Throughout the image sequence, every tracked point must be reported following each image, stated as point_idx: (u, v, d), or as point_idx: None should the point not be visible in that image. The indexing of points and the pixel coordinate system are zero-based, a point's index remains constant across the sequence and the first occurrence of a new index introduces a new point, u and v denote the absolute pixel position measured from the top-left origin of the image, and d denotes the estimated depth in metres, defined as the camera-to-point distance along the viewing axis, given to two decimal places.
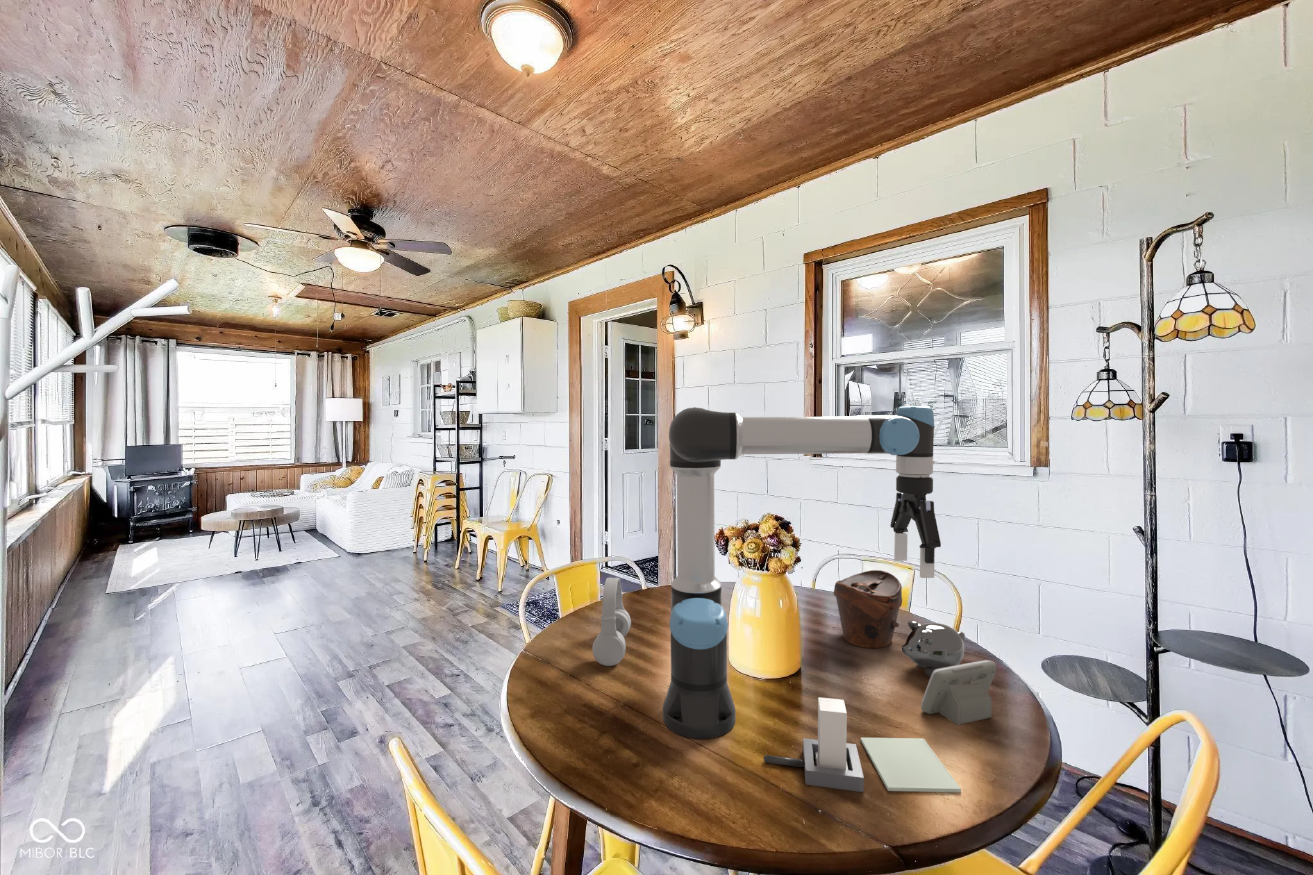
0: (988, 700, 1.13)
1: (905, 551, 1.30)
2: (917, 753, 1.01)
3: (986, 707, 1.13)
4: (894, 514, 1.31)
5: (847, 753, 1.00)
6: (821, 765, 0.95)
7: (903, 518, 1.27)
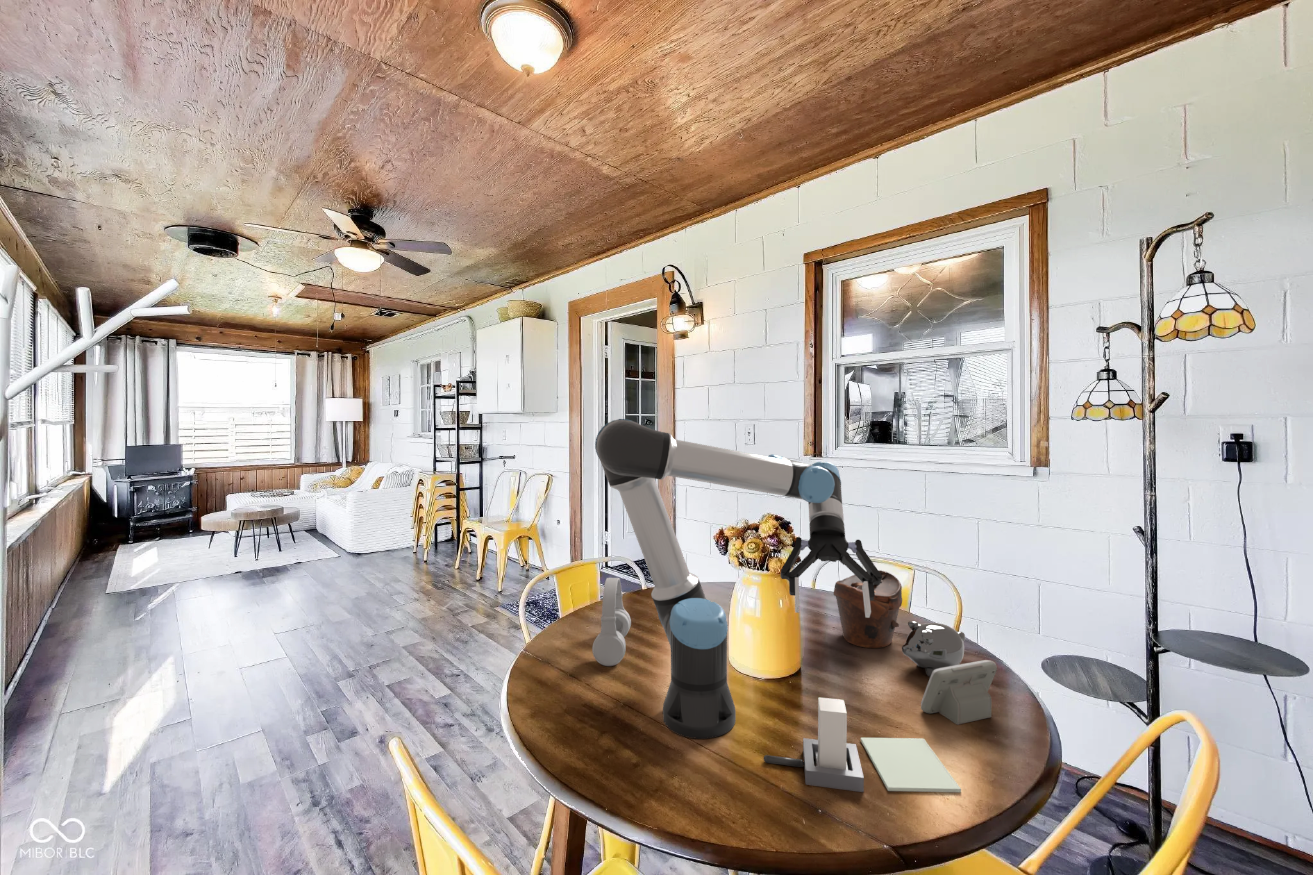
0: (988, 700, 1.13)
1: None
2: (917, 753, 1.01)
3: (986, 707, 1.13)
4: (791, 559, 1.17)
5: (847, 753, 1.00)
6: (821, 765, 0.95)
7: (810, 561, 1.17)
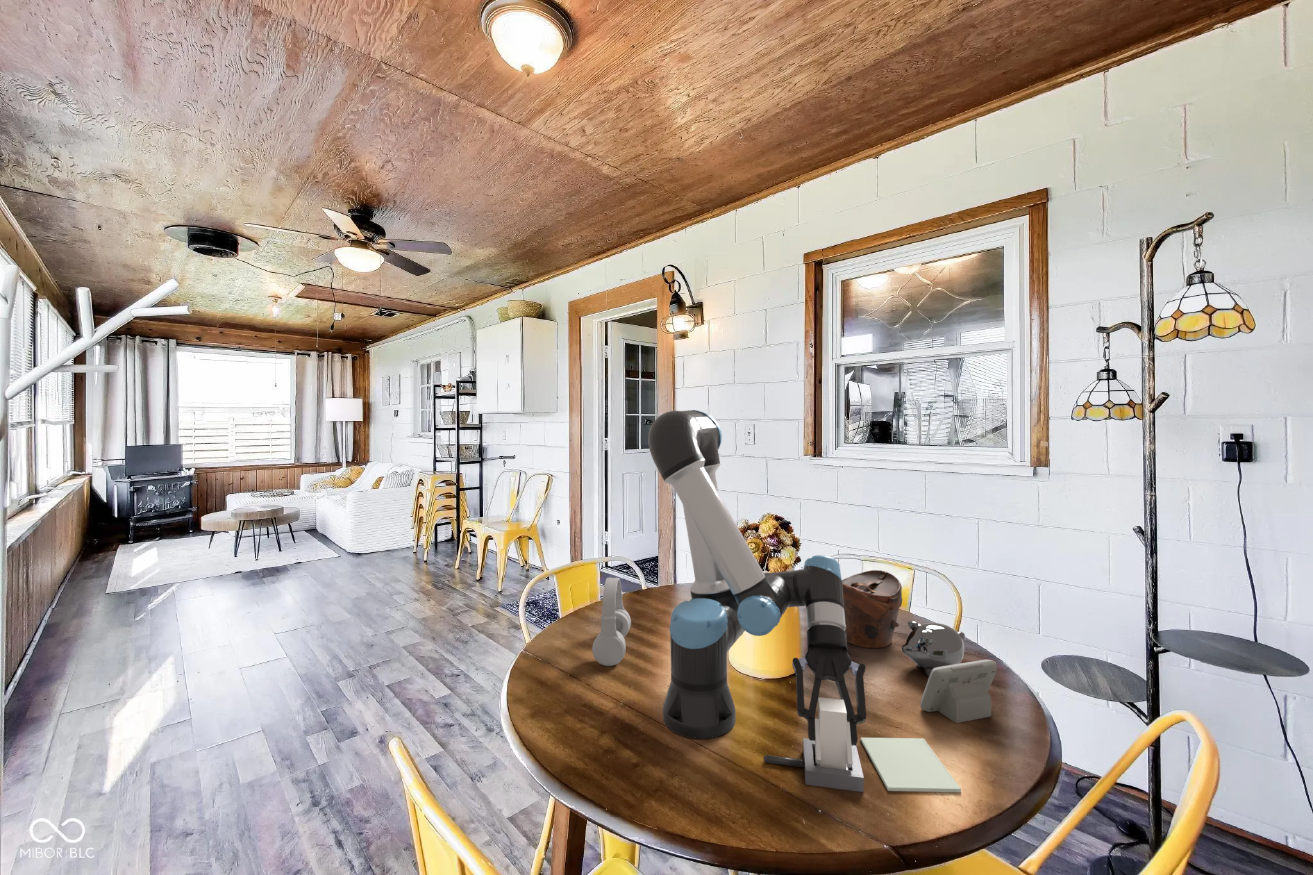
0: (988, 699, 1.13)
1: None
2: (917, 753, 1.01)
3: (986, 706, 1.13)
4: (801, 689, 1.01)
5: None
6: (821, 765, 0.95)
7: None
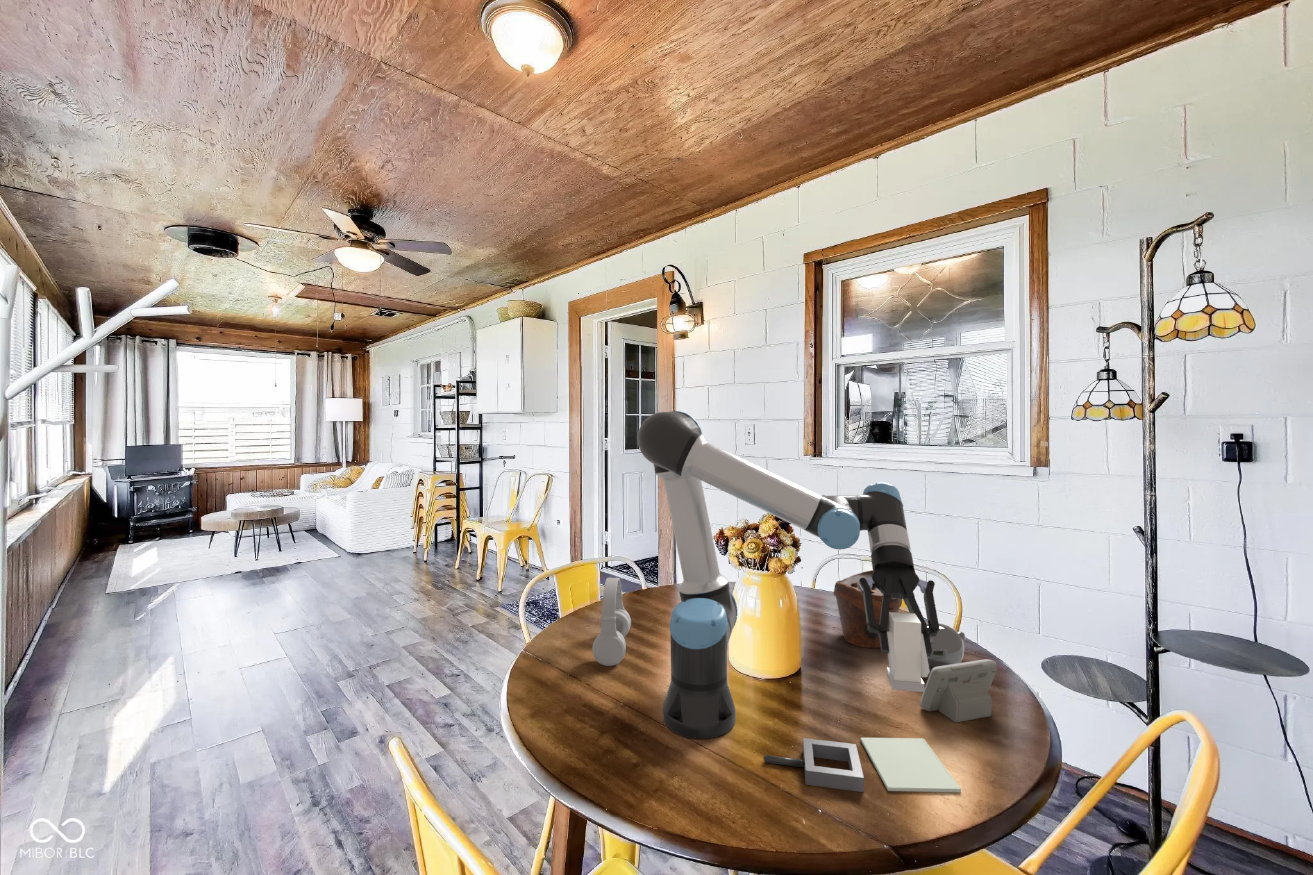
0: (988, 699, 1.13)
1: None
2: (917, 753, 1.01)
3: (986, 706, 1.13)
4: (870, 606, 1.01)
5: (847, 753, 1.00)
6: (895, 676, 0.96)
7: (889, 604, 1.01)
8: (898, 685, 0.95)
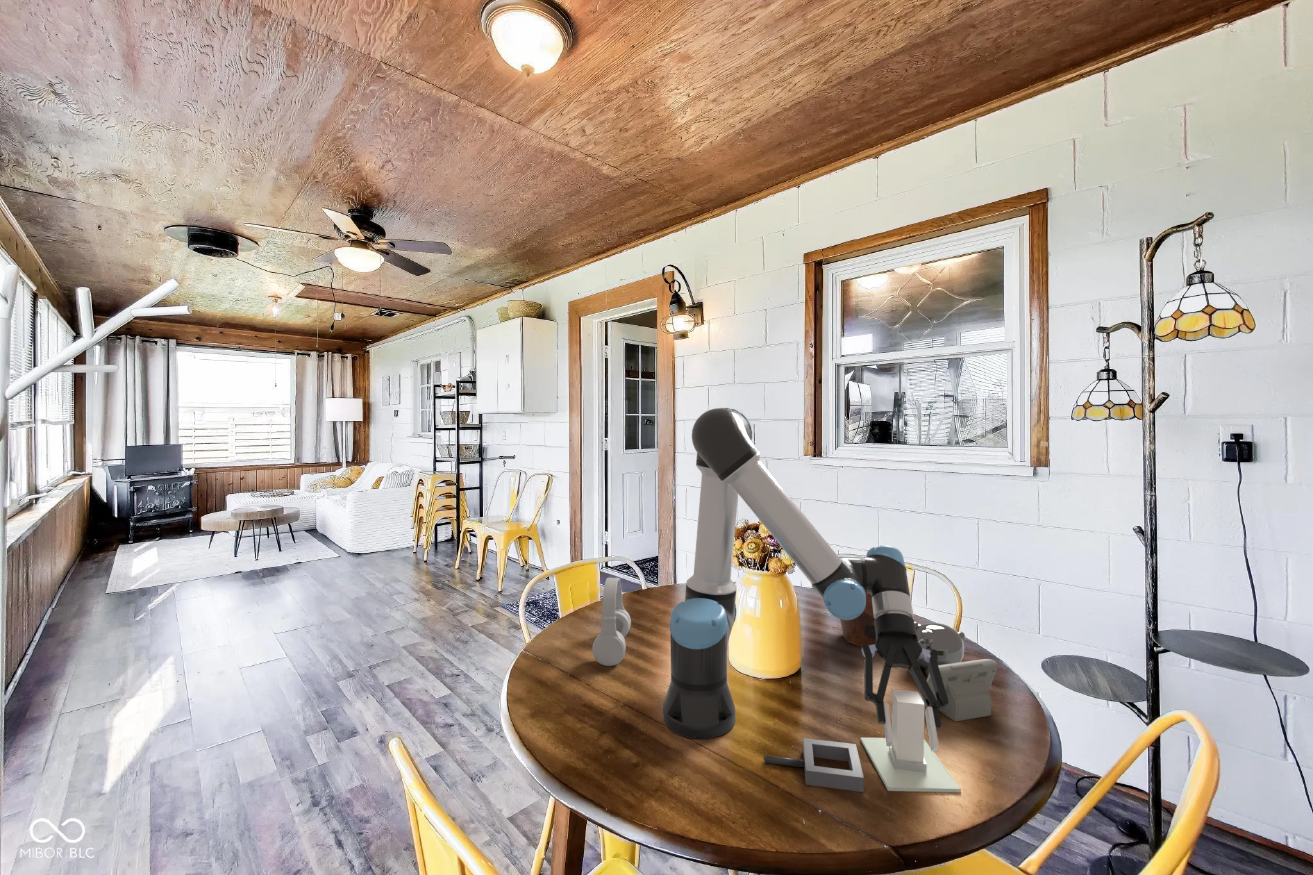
0: (987, 698, 1.14)
1: None
2: None
3: (986, 705, 1.14)
4: (870, 674, 1.03)
5: (847, 753, 1.00)
6: (898, 756, 0.97)
7: (889, 674, 1.03)
8: (901, 764, 0.96)
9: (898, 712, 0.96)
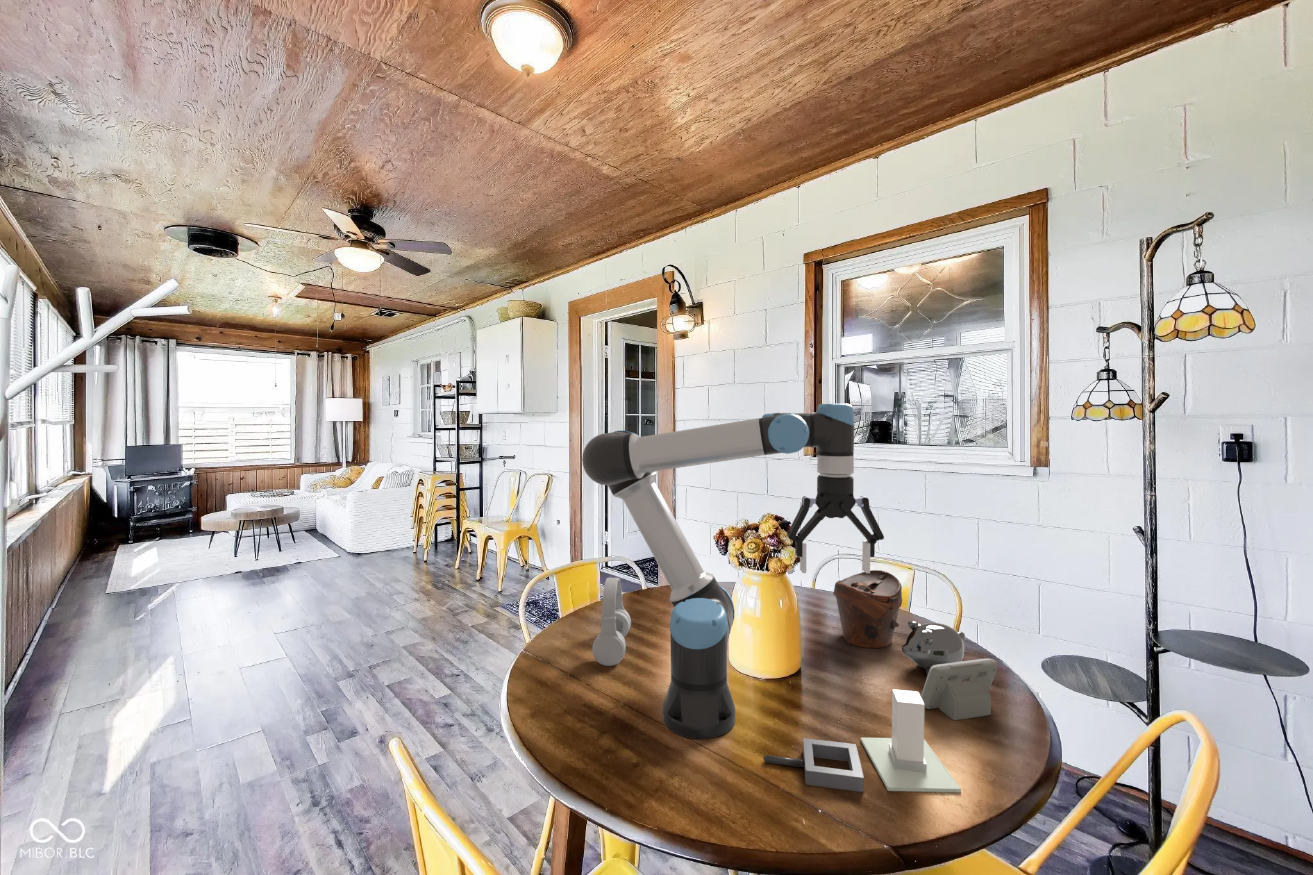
0: (987, 697, 1.14)
1: None
2: None
3: (985, 704, 1.14)
4: (799, 523, 1.18)
5: (847, 753, 1.00)
6: (898, 756, 0.97)
7: None
8: (901, 764, 0.96)
9: (898, 712, 0.96)
